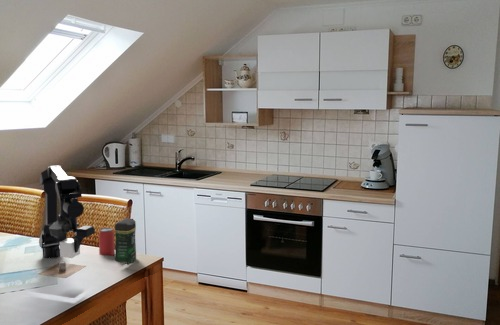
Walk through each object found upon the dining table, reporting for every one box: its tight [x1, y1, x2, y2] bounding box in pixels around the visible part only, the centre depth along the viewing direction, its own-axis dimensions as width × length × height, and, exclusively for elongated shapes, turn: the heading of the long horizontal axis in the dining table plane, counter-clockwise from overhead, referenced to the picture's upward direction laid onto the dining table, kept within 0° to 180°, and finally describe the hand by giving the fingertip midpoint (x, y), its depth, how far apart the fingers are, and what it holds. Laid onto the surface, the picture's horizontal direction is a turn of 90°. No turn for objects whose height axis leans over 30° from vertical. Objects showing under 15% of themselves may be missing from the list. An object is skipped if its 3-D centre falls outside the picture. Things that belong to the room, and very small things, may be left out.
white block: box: [59, 237, 81, 259], centre depth 171 cm, size 5×5×6 cm
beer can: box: [98, 227, 115, 257], centre depth 204 cm, size 7×7×12 cm
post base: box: [38, 261, 87, 279], centre depth 183 cm, size 13×13×4 cm
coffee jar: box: [114, 217, 137, 265], centre depth 196 cm, size 10×8×19 cm
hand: (70, 251), depth 171 cm, fingers closed on white block, 5 cm apart
